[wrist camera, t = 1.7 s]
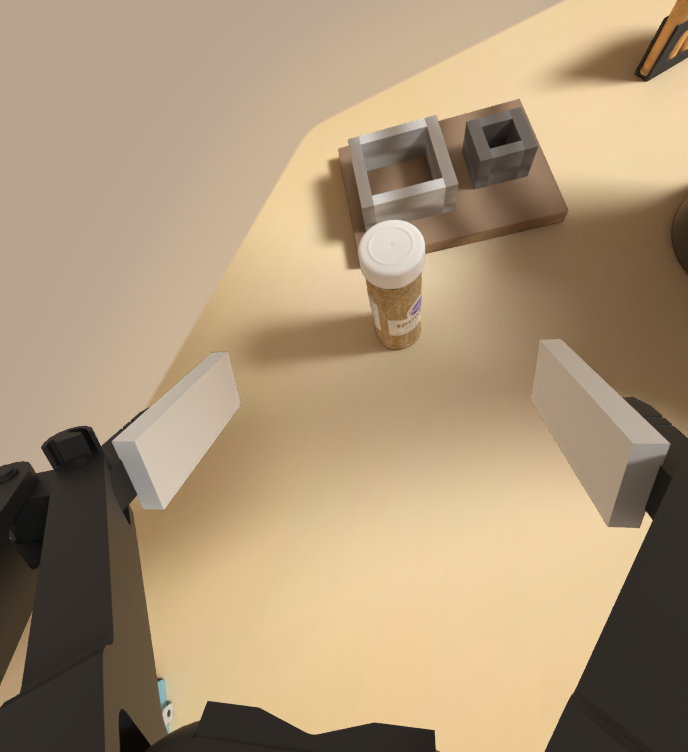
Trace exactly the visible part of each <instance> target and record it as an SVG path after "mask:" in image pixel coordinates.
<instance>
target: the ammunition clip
mask: <svg viewBox="0 0 688 752" xmlns="http://www.w3.org/2000/svg"><path fill="white" fill-rule="evenodd" d="M686 58H688V0H677V2H676V4H675V6H674V8H673V10H672V11H671V13H670V15H669V16H667V17H666V18H664V20H663V22H662V23H661V25H660V27H659V29H658V31H657V33H656V34H655V36H654V38H653V40H652V42H651V44H650V45H649V47H648V49H647V51H646V53H645V55H644V56H643V58H642V60H641V62H640V64H639V66H638V68H637V69H636V71H635V73H636V74H637V75H639V76H640V77H641V78H643V79H644V80H646V81H649V80H651V79H652V78H654V77H656V76H657V75H659V74H661V73H662V72H664V71H666V70H668V69H669V68H671V67H673V66H674V65H676V64H678V63H679V62H681V61H683V60H684V59H686Z"/></svg>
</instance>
